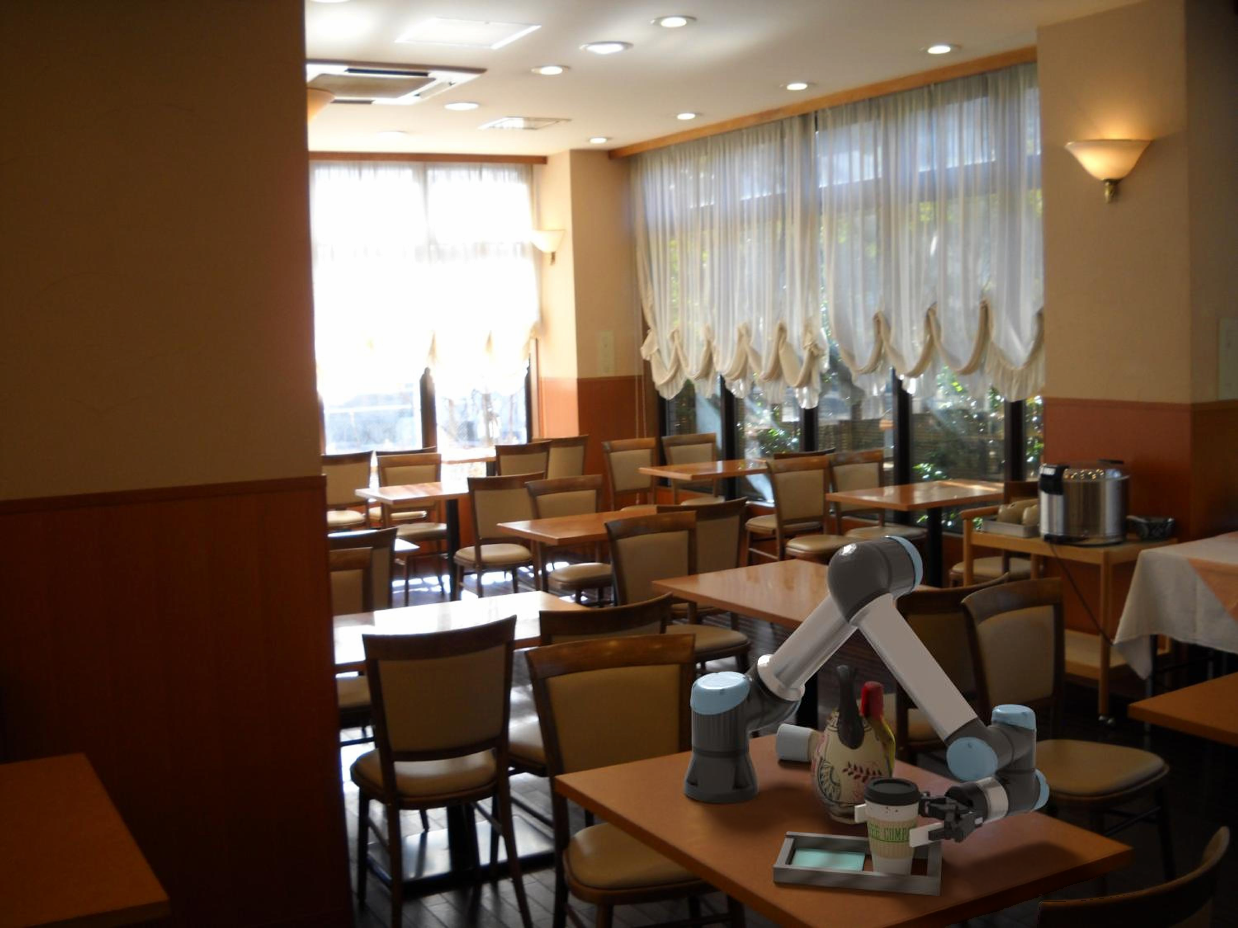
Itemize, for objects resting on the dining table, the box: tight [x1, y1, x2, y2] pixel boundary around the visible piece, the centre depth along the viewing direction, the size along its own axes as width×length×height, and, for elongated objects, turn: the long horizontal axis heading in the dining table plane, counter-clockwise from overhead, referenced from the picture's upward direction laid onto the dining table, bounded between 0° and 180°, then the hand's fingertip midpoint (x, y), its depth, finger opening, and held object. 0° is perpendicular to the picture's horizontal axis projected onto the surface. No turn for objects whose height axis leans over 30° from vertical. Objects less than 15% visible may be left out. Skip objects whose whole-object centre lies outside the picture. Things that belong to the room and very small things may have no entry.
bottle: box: [859, 680, 896, 776], centre depth 270 cm, size 12×6×20 cm, turn 36°
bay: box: [772, 831, 943, 897], centre depth 220 cm, size 27×17×4 cm, turn 75°
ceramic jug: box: [809, 664, 893, 834], centre depth 244 cm, size 17×15×30 cm
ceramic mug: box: [774, 723, 820, 763], centre depth 284 cm, size 11×8×8 cm
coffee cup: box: [862, 777, 922, 875], centre depth 219 cm, size 10×10×15 cm
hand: (882, 826), depth 217 cm, fingers open, 13 cm apart
